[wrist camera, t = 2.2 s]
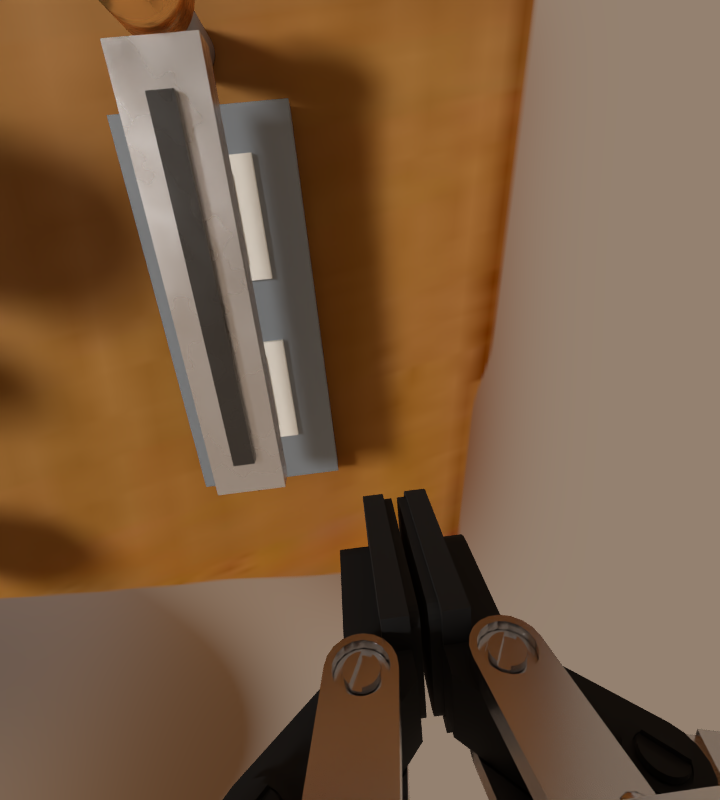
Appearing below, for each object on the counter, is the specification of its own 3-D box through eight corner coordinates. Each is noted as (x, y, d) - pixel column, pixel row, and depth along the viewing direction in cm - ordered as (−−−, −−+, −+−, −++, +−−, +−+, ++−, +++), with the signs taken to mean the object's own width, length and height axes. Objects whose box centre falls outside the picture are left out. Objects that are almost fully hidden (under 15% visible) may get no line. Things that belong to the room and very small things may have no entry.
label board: (95, 33, 23) (23, -32, 18) (278, 17, 24) (263, -51, 18) (211, 476, 34) (188, 524, 28) (337, 460, 34) (340, 504, 28)
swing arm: (89, -60, 18) (56, -100, 15) (187, -67, 18) (168, -109, 16) (224, 480, 27) (215, 502, 25) (287, 472, 27) (284, 493, 25)
